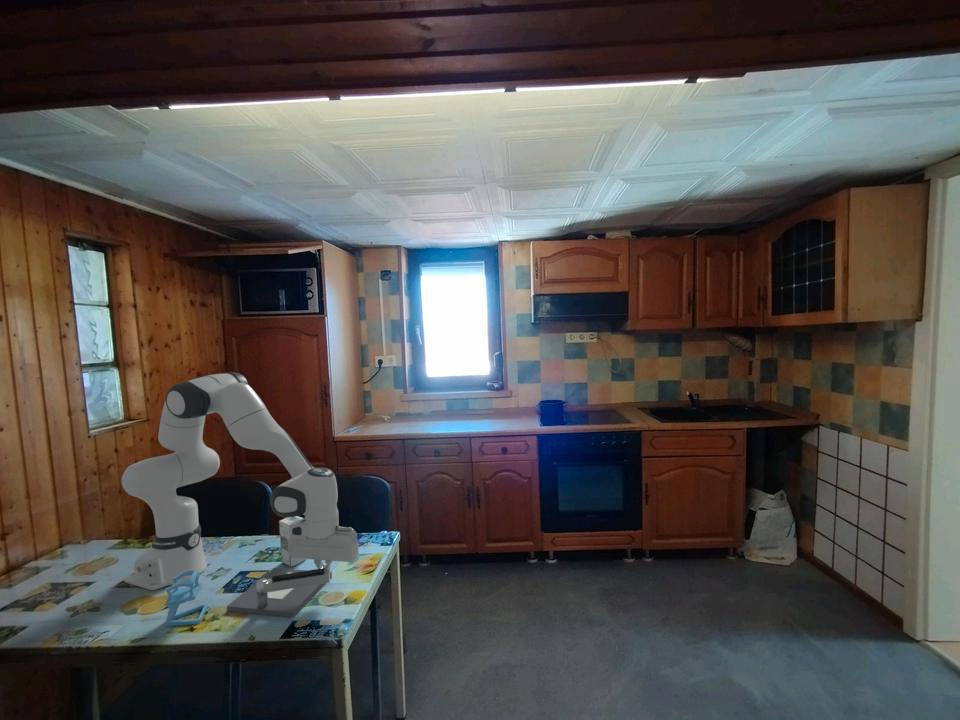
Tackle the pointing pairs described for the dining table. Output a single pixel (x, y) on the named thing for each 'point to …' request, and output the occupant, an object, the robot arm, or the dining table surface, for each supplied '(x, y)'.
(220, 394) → the robot arm
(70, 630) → the dining table surface
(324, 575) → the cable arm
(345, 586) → the dining table surface
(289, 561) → the syrup box
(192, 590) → the chair
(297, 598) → the grey base plate
